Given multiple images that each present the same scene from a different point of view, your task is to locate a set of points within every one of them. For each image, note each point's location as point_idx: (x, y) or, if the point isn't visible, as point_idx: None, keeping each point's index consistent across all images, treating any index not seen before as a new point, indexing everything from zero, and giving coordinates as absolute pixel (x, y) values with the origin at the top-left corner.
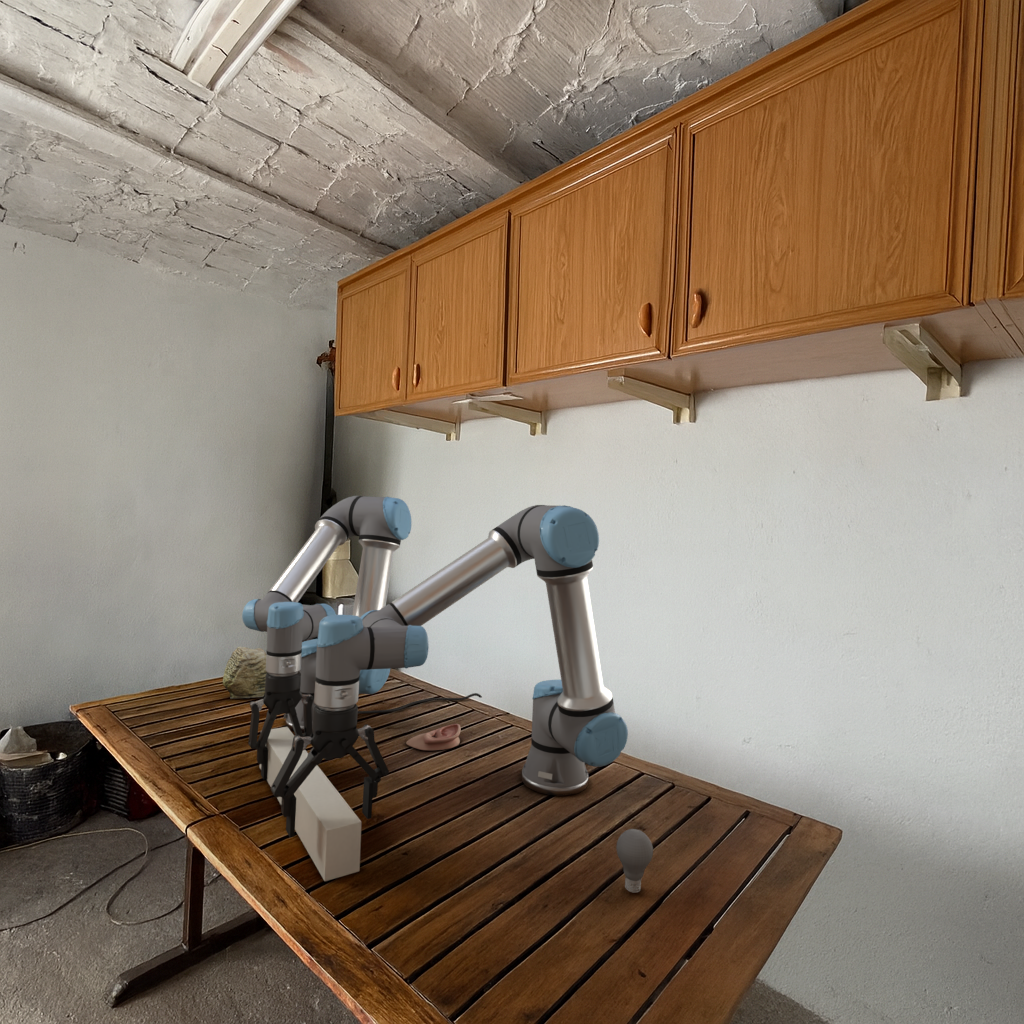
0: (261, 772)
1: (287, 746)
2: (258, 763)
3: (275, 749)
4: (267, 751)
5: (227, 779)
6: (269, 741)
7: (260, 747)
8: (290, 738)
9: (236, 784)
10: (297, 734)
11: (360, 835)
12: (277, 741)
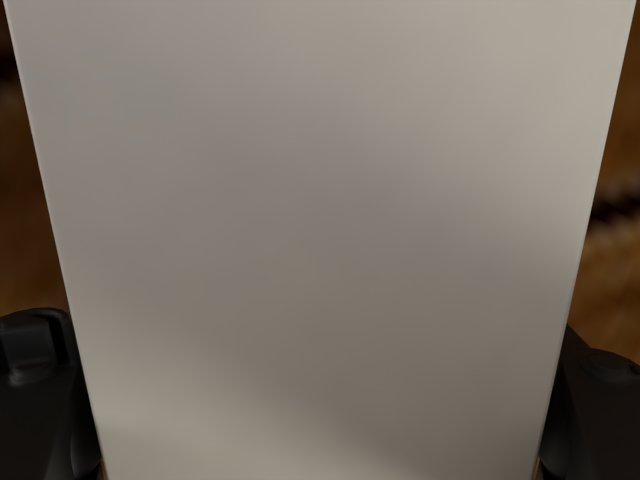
0: None
1: (310, 71)
2: None
3: (590, 11)
4: None
5: (620, 346)
6: (520, 437)
7: (628, 376)
8: (183, 419)
9: (605, 253)
10: (37, 458)
11: None
12: (409, 389)
